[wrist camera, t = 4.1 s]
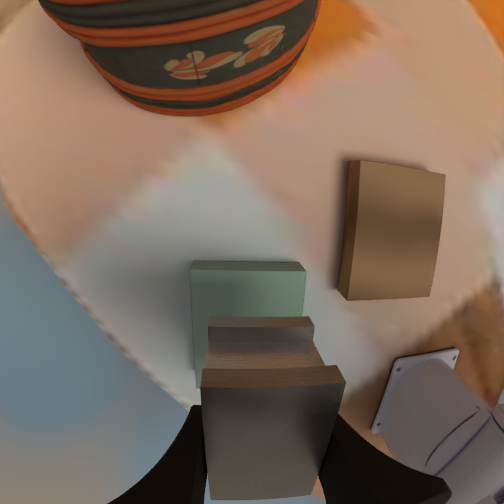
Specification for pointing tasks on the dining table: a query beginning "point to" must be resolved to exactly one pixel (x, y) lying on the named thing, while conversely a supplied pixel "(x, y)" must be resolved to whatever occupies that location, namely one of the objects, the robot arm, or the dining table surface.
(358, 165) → the stand
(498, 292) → the dining table surface
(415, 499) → the robot arm
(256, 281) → the stand
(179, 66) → the beer stein
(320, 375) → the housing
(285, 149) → the dining table surface
